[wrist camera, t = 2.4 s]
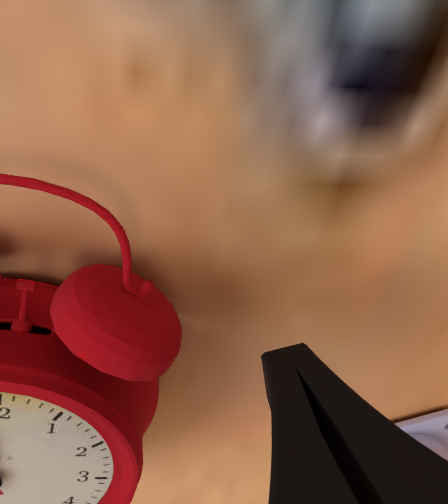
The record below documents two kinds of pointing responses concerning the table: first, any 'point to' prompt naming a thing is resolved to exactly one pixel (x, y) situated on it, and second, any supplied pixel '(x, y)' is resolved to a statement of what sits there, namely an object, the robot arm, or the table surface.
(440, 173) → the table surface
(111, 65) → the table surface
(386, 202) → the table surface
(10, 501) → the alarm clock
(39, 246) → the table surface
